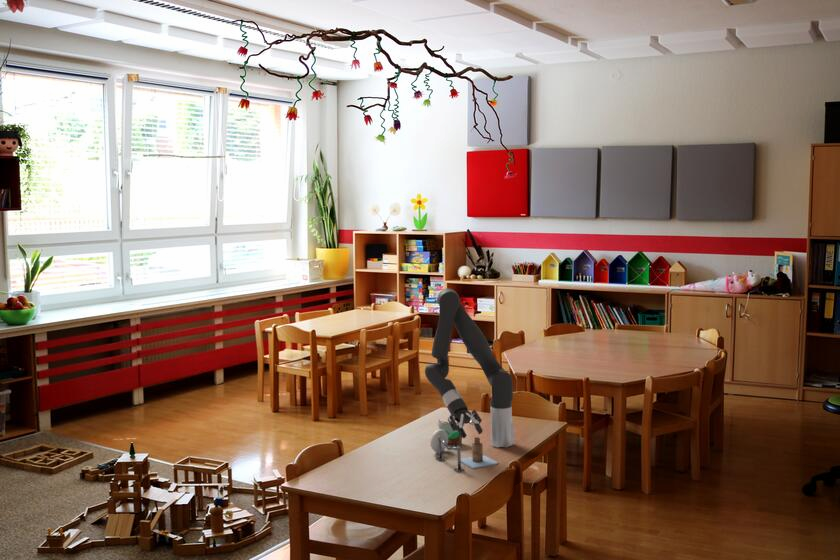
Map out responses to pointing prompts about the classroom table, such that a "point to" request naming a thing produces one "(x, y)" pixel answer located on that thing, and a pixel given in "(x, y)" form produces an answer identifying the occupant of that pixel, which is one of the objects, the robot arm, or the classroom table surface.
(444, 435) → the grey wheel
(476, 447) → the brown bottle
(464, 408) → the robot arm
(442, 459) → the grey stand
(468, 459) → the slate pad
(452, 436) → the food container
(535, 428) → the classroom table surface
